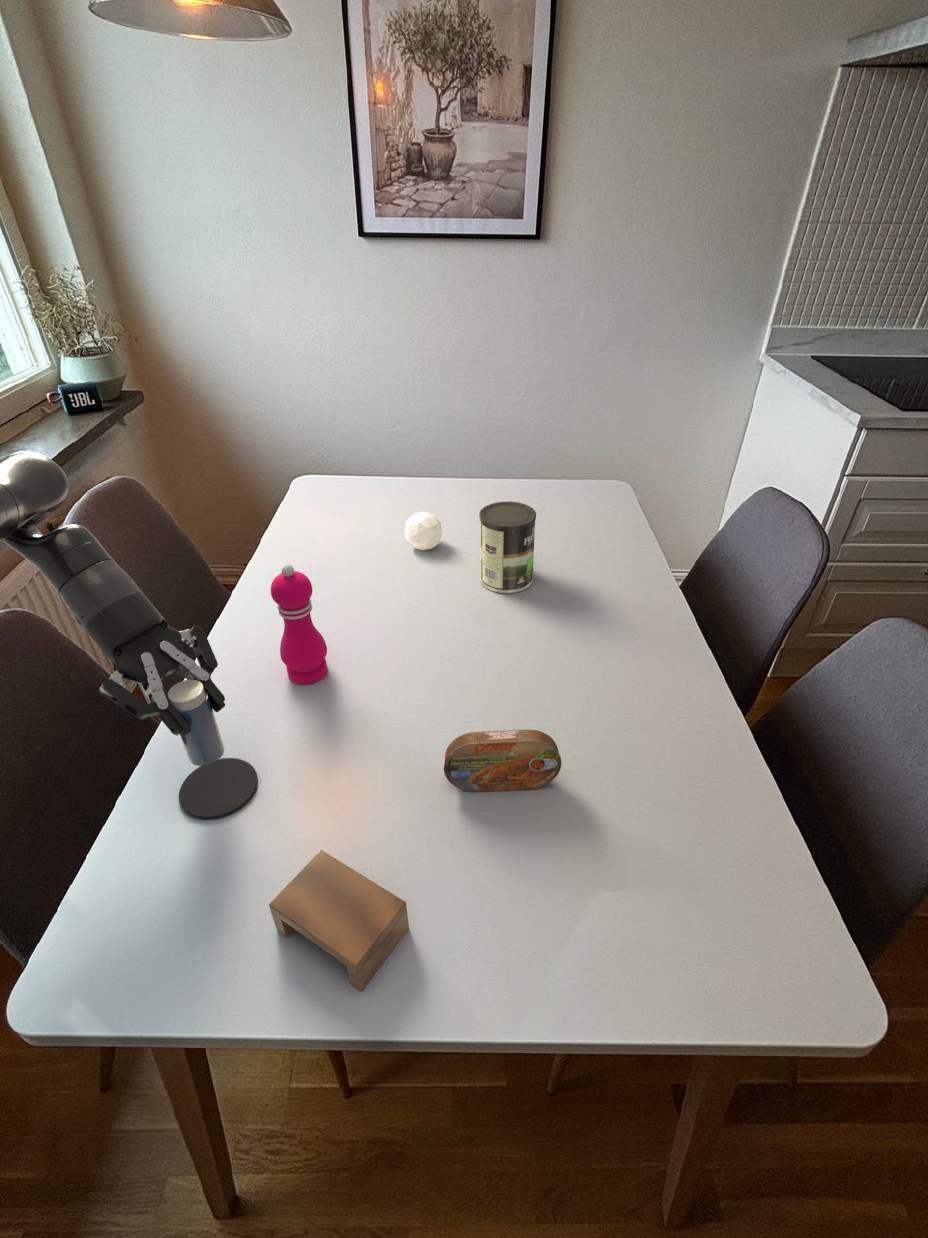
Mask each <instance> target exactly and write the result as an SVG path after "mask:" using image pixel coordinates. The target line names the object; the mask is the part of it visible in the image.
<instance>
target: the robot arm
mask: <svg viewBox="0 0 928 1238" xmlns="http://www.w3.org/2000/svg"><path fill="white" fill-rule="evenodd" d="M69 495H70V483H69V479H68V475H66V473H65V471H64V470H63V468H62V467H60V466H59V464H58V463H56V462H55V461H54V460H52V459H51V458H50V457H48V456H45V455H43V454H40V453H36V452H34V451H33V452H32V451H18V452H14V453H11V454H9V455H7V456H5V457H2V458H1V459H0V542H3V543H4V544H5V545H7V546H9V547H10V548H11V549H13V550H14V551H15V552H16V553H17V554H19V555H20V556H22V557H23V558H24V559H25V560H26V561H28V562H29V563H30V564H32V565H33V566H34V567H35V568H36V569H37V570H38V571H39V572H40V573H41V575H42V576H43V577H44V578H45V580H46V581H47V582H48V583H49V585H50V586H51V587H52V588H53V589H54V590H55V592H56V593H57V594H58V595H59V597H60V598H61V599H62V601H63V603H64V605H65V606H66V608H67V610H68V611H69V613H71V615H72V616H73V618H75V621H76V622H77V624H78V625H79V626H81V627H82V628H83V629H84V630H85V632H86V633H87V634H88V635H89V637H90V638H91V639H92V640H93V641H94V643H95V644H96V645H97V646H98V648H99V649H100V650H101V651H102V652H103V653H104V655H105V656H106V657H107V658H108V659H109V660H110V662H111V664H112V667H113V668H112V669H113V673H112V674H111V675H110V676H109V678H106V679H104V681H102V683H101V685H100V687H99V688H98V692H99V694H101V696H103V697H105V698H106V699H108V700H109V701H111V702H112V703H114V704H115V705H117V706H118V707H120V708H121V709H123V710H124V711H125V712H127V713H129V714H130V715H132V716H133V717H135V718H136V719H138V720H144V719H145V718H146V719H147V718H149V717H152V716H154V717H157V718H159V719H160V721H161V722H162V723H163V725H165V726H166V728H167V729H168V730H169V731H170V732H171V734H172V735H174V736H176V737H177V736H180V735H181V736H182V737H184V736H186V735H187V734H189V733H190V732H191V731H192V730H191V728H190V726H189V725H188V724H187V723H186V721H185V720H184V719H183V718H182V717H181V715H180V714H179V713H178V712H177V711H176V709H175V708H174V707H173V706H171V707H170V705H169V701H168V699H167V696H166V694H165V691H164V684H163V682H162V680H163V679H164V677H167V676H170V675H172V674H175V675H177V676H178V677H180V678H183V679H185V680H197V681H200V682H201V683H202V684H203V687H204V690H205V691H206V692H207V694H208V697H209V700H210V703H211V706H212V709H213V712H215V713H219V712H220V711H221V710H223V709H224V708H225V707H226V703H225V701H226V697H225V695H224V694H223V692H222V691H221V690H220V689H219V687H218V686H217V685H216V684H215V683H214V682H213V680H212V677H211V676H212V674H213V672H214V671H215V670H216V669H217V668H218V667H219V663H218V660H217V658H216V656H215V653H214V651H213V649H212V646H211V644H210V641H209V639H208V637H207V635H206V632H205V630H204V628H203V626H202V625H201V624H195V625H193V626H192V628H188V629H184V630H180V631H179V630H178V629H176V628H173V627H172V626H170V625H169V623H168V622H167V621H166V619H165V617H163V615H162V614H161V613H160V611H158V609H157V608H156V607H155V605H153V603H152V602H151V600H150V599H149V598H148V597H147V596H146V594H145V593H144V592H143V590H142V589H141V588H140V587H139V586H138V585H137V583H136V582H135V581H134V580H133V579H132V577H131V576H130V575H129V574H128V573H127V571H125V570H124V569H123V568H122V567H121V566H120V565H119V563H117V562H116V561H115V560H114V558H112V556H111V555H110V553H109V552H108V551H107V550H106V548H105V547H104V546H103V545H102V544H101V543H100V541H99V540H98V539H97V537H96V536H95V535H94V534H93V533H92V531H90V530H89V529H88V528H87V527H85V526H83V525H81V524H73V523H72V524H68V525H64V526H62V527H58V528H56V529H54V530H52V531H50V532H48V533H46V534H43V533H42V532H41V531H40V530H39V529H38V528H37V526H38V525H39V524H40V523H42V522H43V521H44V520H46V518H48V517H49V516H50V515H51V514H53V513H54V512H55V511H56V510H58V509H59V508H61V506H63V505H64V504H65V502H66V501H67V499H68V497H69ZM183 642H184V643H185V644H186V646H187V647H190V648H192V650H193V652H194V655H195V658H196V661H197V662H198V664H199V665H198V664H197V663H196V661H195V660H194V659H192V658H191V657H189V656H188V655H186V653H184V652H183ZM123 679H126V680H129V681H132V682H136V683H139V685H140V687H141V689H142V692H143V694H144V697H145V698H146V700H147V701H148V702H146V701H144V700H143V699H141V698H140V697H139V696H137V695H136V694H135V693H132V692H131V691H130V690H128V689H127V684H126V682H125V681H124V680H123ZM181 736H180V737H181Z"/></svg>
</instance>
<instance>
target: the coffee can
mask: <svg viewBox="0 0 928 1238" xmlns="http://www.w3.org/2000/svg"><path fill="white" fill-rule="evenodd" d="M478 517H479V525H480V526H479V537H480V541H479V542H480V543H479V545H480V546H479V549H480V553H479V554H480V555H479V557H480V559H479V560H480V575H479V576H480V577H479V580H480V581H479V582H480V583H481V585H482V586H483V587H484V588H485V589H487V590H489V591H491V592H495V593H498V594H515V593H520V592H522V591H525V590H527V589H528V588H530V587H531V586H532V584H533V581H534V576H533V575H534V555H535V553H534V552H535V536H536V535H535V532H536V519H537V512H536V510H535V509H534V508H533V507H532V506H530V505H528V504H526V503H522V502H518V501H498V502H497V501H496V502H493V503H490V504H487V505H485V506H484V507H482V508H481V509H480V511H479V515H478Z"/></svg>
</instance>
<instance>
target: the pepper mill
mask: <svg viewBox="0 0 928 1238" xmlns="http://www.w3.org/2000/svg"><path fill="white" fill-rule="evenodd" d="M312 596H313V585H312V582H311V580H310V578H309V577H308V576H307V575H305V574H304V573H303V572H300V571H297V570H295V569H294V567H293V566H292V565H291V564H284V565H283V566H282V568H281V573H279V574H277V575H276V576H275V577H274V578H273V580H272V582H271V583H270V597H271V598H272V600H273V602H275V603H276V604H277V605H276V606H277V607H276V608H277V613H278V615H279V617H281V618H282V619H283V625H284V626H283V634H282V636H281V639H280V643H279V644H280V646H279V656H280V659H281V662H283V664H284V665H285V666H286V673H287V677H288V679H289V680H290V681H291V682H292V683H294V684H298V685H312V684H314V683H318V682H319V681H321V680H322V679H323V678H324V677H326V675H327V673H328V665H327V660H326V657H327V654H328V647H327V643H326V640H325V638H324V637H323V635H322V634H321V632H319V630H318V629H317V627H316V626H315V624H314V622H313V619H312V616H311V612H312V610H313V604H312V600H311V597H312Z"/></svg>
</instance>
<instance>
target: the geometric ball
mask: <svg viewBox="0 0 928 1238" xmlns="http://www.w3.org/2000/svg"><path fill="white" fill-rule="evenodd" d="M404 536H405V541H407V542H408V543H409V545H410V546H411V547H413V548H414V549H417V550H420V551H426V550H427V551H428V550H432V549H434V548H435V547H436V546H437V545H438V544H439V543H440V541H441V539H442V536H443V529H442V523H441V521H440V520H439V519H438V518H437V517H436V516H435V515H433V514H431V513H428V512H426V511H421V512H416V513H414V514H412V515H411V516H410V517H409V518H408V519H407V520H406V522H405V526H404Z"/></svg>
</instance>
